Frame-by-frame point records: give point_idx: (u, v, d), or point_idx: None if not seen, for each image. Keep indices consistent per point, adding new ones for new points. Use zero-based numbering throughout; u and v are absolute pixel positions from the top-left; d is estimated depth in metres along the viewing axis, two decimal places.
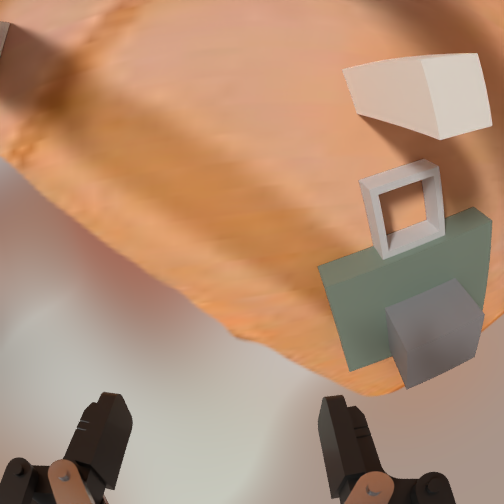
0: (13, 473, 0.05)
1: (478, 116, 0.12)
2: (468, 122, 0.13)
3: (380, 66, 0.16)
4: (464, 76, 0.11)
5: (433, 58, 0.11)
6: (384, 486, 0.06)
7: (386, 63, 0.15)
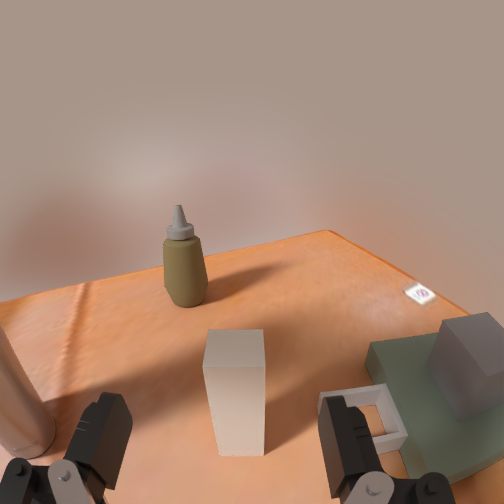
0: (13, 473, 0.05)
1: (253, 338, 0.24)
2: (256, 345, 0.23)
3: (212, 409, 0.23)
4: (222, 342, 0.24)
5: (204, 358, 0.22)
6: (384, 486, 0.06)
7: (209, 402, 0.23)
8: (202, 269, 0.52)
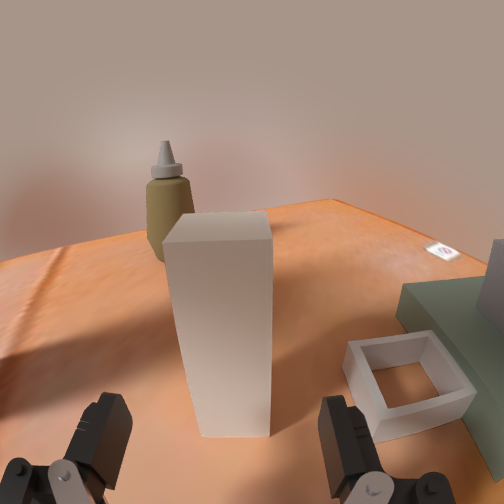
0: (13, 473, 0.05)
1: (252, 216, 0.16)
2: (256, 222, 0.15)
3: (182, 343, 0.14)
4: (202, 221, 0.15)
5: (168, 235, 0.13)
6: (384, 486, 0.06)
7: (177, 327, 0.14)
8: None
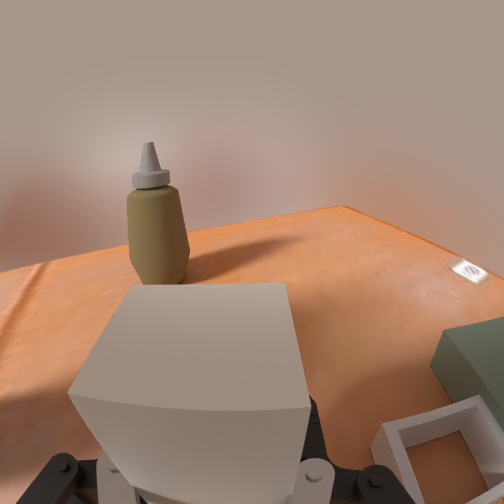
0: (56, 468, 0.06)
1: (258, 304, 0.08)
2: (269, 326, 0.07)
3: (146, 497, 0.07)
4: (159, 316, 0.07)
5: (85, 364, 0.05)
6: (323, 474, 0.07)
7: (133, 485, 0.06)
8: (180, 233, 0.36)
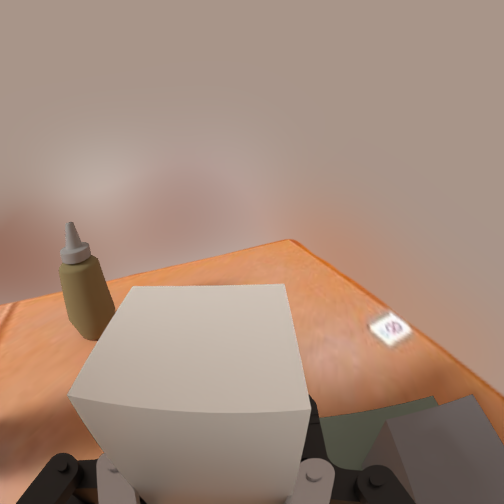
0: (56, 468, 0.06)
1: (258, 306, 0.08)
2: (269, 328, 0.07)
3: (146, 498, 0.07)
4: (159, 318, 0.07)
5: (85, 366, 0.05)
6: (323, 473, 0.07)
7: (133, 486, 0.06)
8: (101, 298, 0.39)
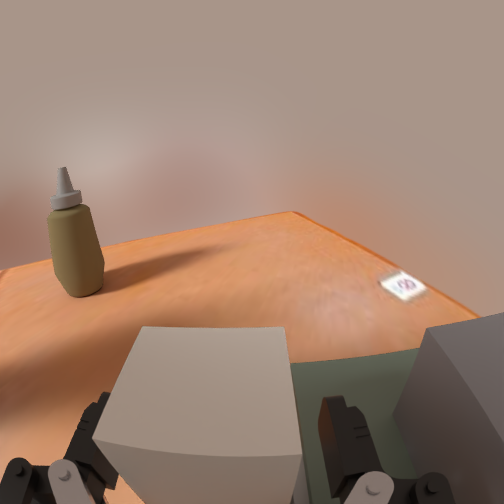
0: (13, 473, 0.05)
1: (259, 352, 0.08)
2: (268, 375, 0.07)
3: None
4: (169, 362, 0.08)
5: (105, 410, 0.06)
6: (384, 486, 0.06)
7: (147, 503, 0.07)
8: (89, 248, 0.36)
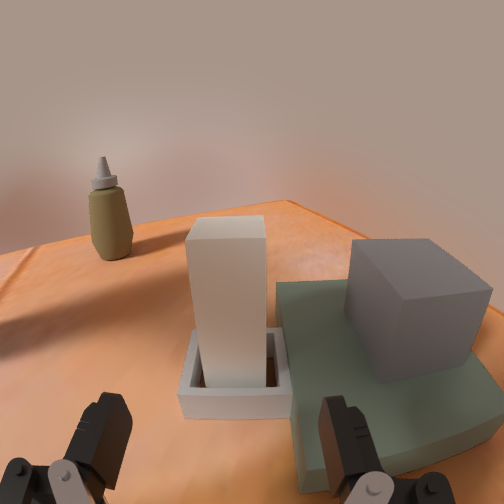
0: (13, 473, 0.05)
1: (252, 220, 0.20)
2: (255, 224, 0.19)
3: (197, 317, 0.19)
4: (213, 223, 0.20)
5: (188, 234, 0.18)
6: (384, 486, 0.06)
7: (193, 305, 0.19)
8: (123, 219, 0.48)
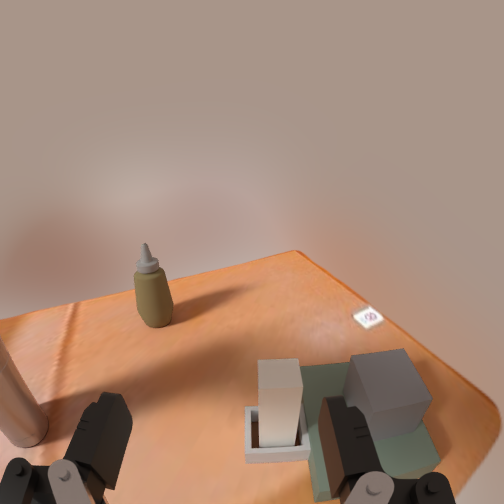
0: (13, 473, 0.05)
1: (292, 365, 0.32)
2: (295, 371, 0.31)
3: (260, 418, 0.31)
4: (269, 369, 0.31)
5: (258, 382, 0.30)
6: (384, 486, 0.06)
7: (259, 413, 0.30)
8: (166, 297, 0.60)
